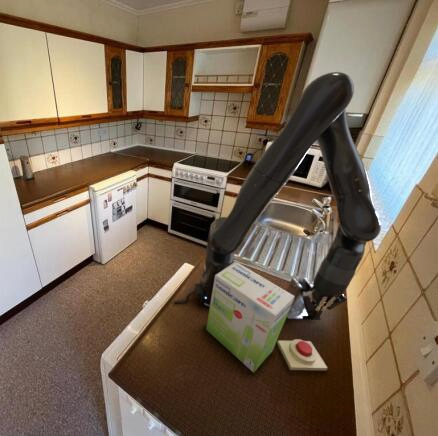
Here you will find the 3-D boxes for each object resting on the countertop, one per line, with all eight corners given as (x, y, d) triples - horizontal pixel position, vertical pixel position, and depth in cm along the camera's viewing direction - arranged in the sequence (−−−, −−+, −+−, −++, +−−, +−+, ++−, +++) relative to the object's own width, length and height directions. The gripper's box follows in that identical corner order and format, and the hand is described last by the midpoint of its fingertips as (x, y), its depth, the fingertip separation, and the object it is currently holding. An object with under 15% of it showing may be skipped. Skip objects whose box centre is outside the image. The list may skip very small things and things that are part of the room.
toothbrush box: (203, 329, 78) (214, 273, 66) (223, 314, 84) (237, 259, 72) (252, 375, 66) (276, 316, 54) (271, 353, 71) (297, 295, 60)
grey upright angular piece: (310, 320, 82) (324, 294, 75) (287, 320, 82) (299, 293, 75) (294, 298, 90) (306, 272, 84) (273, 297, 90) (283, 272, 84)
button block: (289, 371, 67) (293, 363, 65) (275, 344, 74) (279, 336, 72) (324, 372, 67) (330, 364, 65) (308, 345, 74) (312, 337, 72)
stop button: (300, 356, 67) (302, 352, 66) (293, 344, 70) (295, 340, 69) (313, 356, 67) (315, 353, 66) (305, 344, 70) (307, 341, 69)
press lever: (317, 320, 76) (322, 319, 74) (302, 320, 76) (306, 318, 74) (305, 283, 82) (309, 281, 80) (290, 283, 82) (294, 281, 80)
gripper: (348, 265, 70) (326, 307, 78) (303, 265, 70) (286, 306, 78) (368, 284, 63) (342, 327, 72) (319, 283, 63) (298, 326, 72)
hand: (313, 316), depth 75 cm, fingers closed
